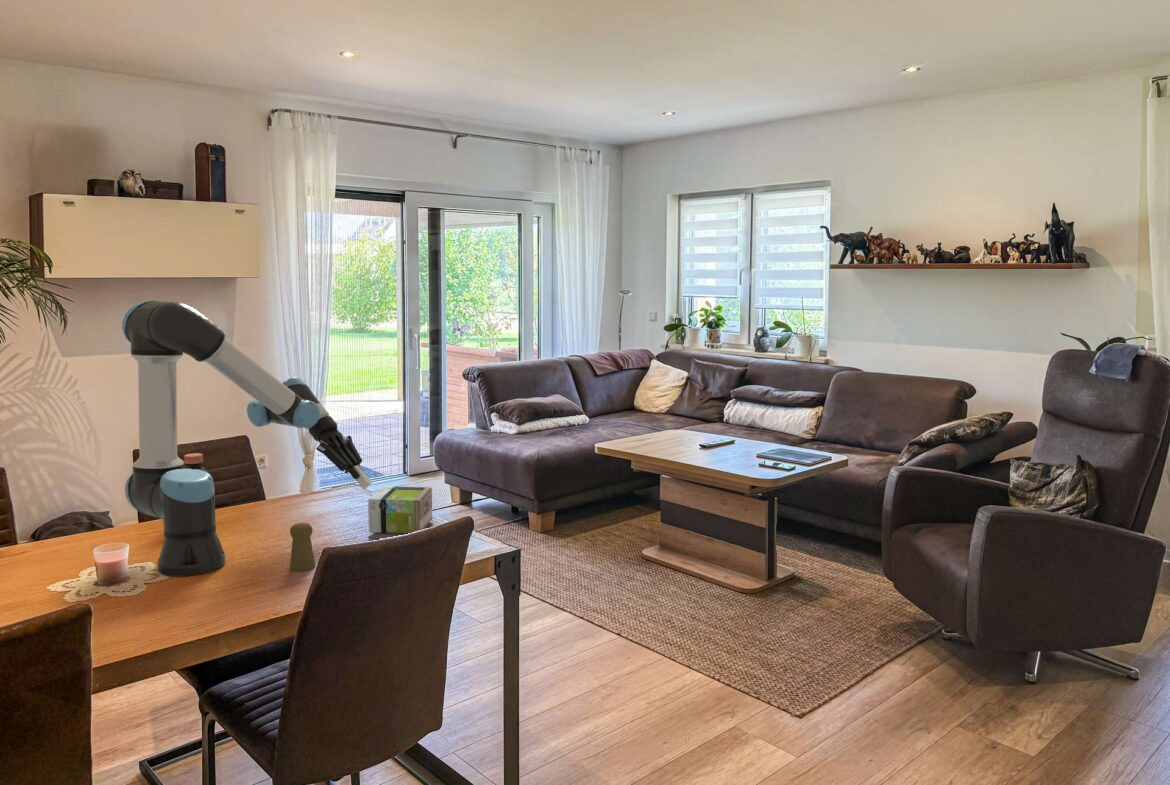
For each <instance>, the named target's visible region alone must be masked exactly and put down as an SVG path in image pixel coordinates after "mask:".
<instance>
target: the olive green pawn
mask: <svg viewBox="0 0 1170 785" xmlns="http://www.w3.org/2000/svg"><path fill="white" fill-rule="evenodd" d="M289 534H290V536H291V538H292V543H291V544H292V545H291V552H290V553H291V554H290V562H289V563H290V564H289V570H290V571H291V572H297V573H298V572H300V573H301V572H308V571H311V570H314V569H315V568H316V567H315V566H316V561H315V555H314V551H313V550H314V549H313V545H312V539H311V536H312V535H313V527H312V525H311V524H310V523H307V522H299V523H295V524H294V525H292V526H290V530H289Z"/></svg>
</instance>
